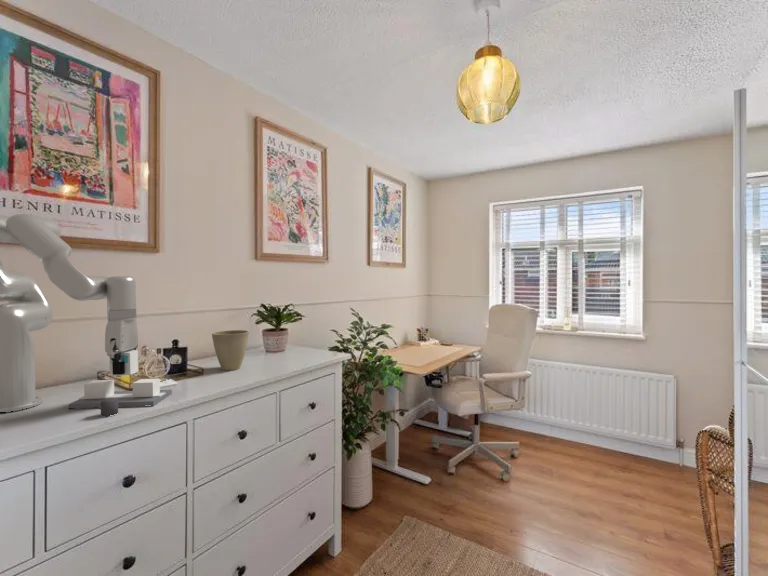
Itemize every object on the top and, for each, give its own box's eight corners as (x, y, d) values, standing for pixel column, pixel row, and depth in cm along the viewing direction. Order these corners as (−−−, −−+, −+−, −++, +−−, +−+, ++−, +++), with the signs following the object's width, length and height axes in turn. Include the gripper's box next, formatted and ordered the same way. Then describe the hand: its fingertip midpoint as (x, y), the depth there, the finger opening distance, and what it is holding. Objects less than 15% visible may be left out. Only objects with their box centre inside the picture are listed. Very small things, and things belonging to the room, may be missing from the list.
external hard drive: (131, 390, 131) (170, 382, 140) (138, 394, 125) (178, 386, 135) (131, 385, 131) (170, 378, 140) (138, 390, 125) (178, 382, 135)
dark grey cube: (97, 417, 103) (97, 403, 103) (106, 412, 107) (106, 398, 107) (112, 416, 104) (112, 402, 104) (121, 411, 108) (121, 398, 108)
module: (109, 375, 114) (108, 353, 114) (118, 372, 119) (118, 350, 119) (130, 375, 115) (129, 352, 115) (138, 371, 120) (137, 349, 120)
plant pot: (255, 364, 167) (254, 330, 166) (238, 373, 152) (238, 334, 152) (223, 364, 168) (223, 329, 168) (204, 372, 154) (204, 334, 153)
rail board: (68, 409, 110) (68, 388, 110) (95, 396, 122) (95, 377, 122) (153, 406, 112) (153, 385, 112) (171, 393, 124) (171, 375, 124)
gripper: (125, 313, 125) (127, 366, 125) (91, 318, 108) (93, 379, 108) (148, 312, 125) (150, 365, 126) (118, 317, 109) (120, 378, 109)
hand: (124, 371), depth 117 cm, fingers closed on module, 4 cm apart
